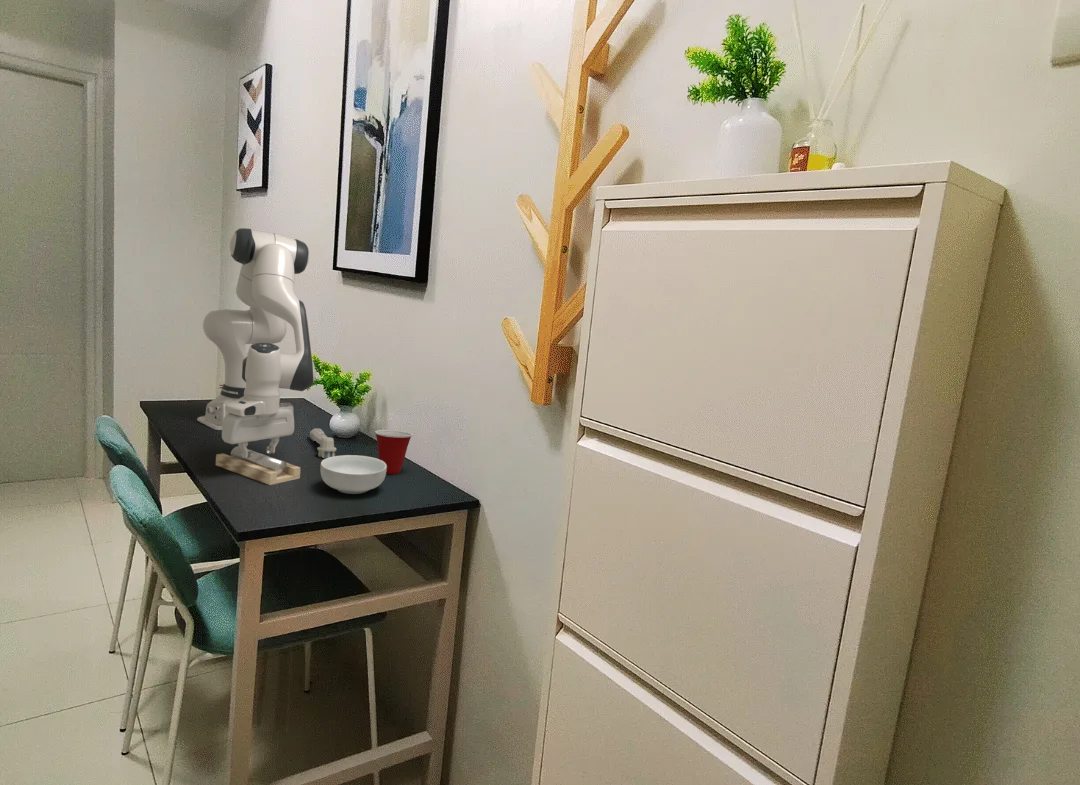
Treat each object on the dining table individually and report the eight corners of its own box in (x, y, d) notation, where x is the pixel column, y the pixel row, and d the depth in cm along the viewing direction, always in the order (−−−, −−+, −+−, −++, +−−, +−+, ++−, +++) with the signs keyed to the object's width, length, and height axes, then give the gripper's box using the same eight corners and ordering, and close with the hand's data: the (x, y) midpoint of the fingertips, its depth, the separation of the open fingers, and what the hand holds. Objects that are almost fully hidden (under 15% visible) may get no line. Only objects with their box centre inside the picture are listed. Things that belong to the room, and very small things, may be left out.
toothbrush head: (323, 427, 221) (338, 435, 199) (322, 447, 221) (337, 458, 199) (307, 427, 219) (320, 435, 196) (306, 447, 219) (319, 458, 197)
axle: (229, 461, 181) (231, 446, 181) (242, 459, 185) (244, 445, 184) (273, 477, 173) (275, 462, 172) (286, 475, 176) (288, 460, 176)
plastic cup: (408, 467, 200) (412, 428, 199) (409, 477, 190) (413, 437, 188) (371, 465, 198) (375, 425, 196) (370, 475, 188) (374, 434, 186)
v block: (215, 465, 180) (216, 454, 180) (246, 459, 188) (246, 449, 188) (269, 485, 170) (270, 473, 169) (299, 478, 178) (300, 467, 177)
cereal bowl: (310, 481, 176) (312, 456, 175) (370, 477, 186) (372, 453, 185) (330, 502, 163) (333, 474, 162) (394, 497, 172) (397, 470, 171)
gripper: (285, 399, 187) (282, 447, 189) (219, 405, 169) (216, 458, 171) (301, 403, 184) (297, 452, 186) (235, 410, 166) (232, 464, 168)
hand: (258, 455), depth 178 cm, fingers open, 6 cm apart
